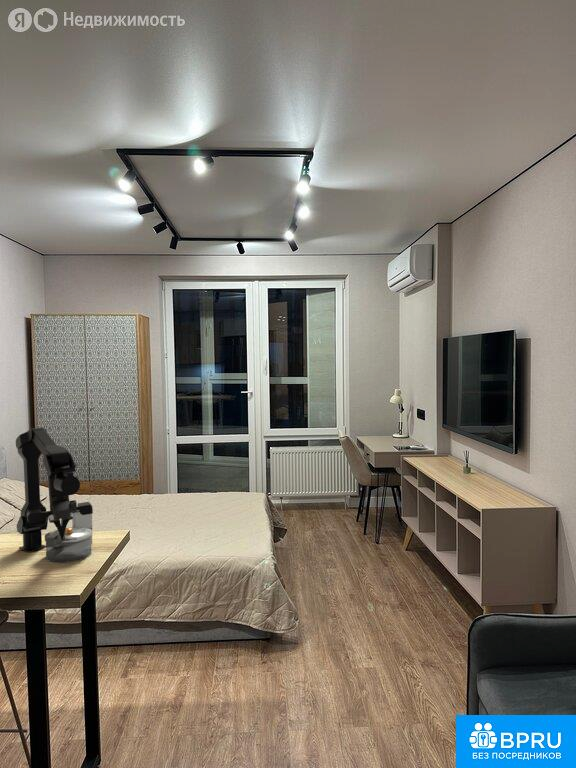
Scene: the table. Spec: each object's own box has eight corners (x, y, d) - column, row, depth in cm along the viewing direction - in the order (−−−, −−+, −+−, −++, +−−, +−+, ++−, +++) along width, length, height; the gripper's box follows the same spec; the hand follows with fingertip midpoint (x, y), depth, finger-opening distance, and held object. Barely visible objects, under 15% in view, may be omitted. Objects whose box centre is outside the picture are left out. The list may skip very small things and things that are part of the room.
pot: (59, 548, 198) (59, 530, 197) (98, 548, 196) (98, 531, 196) (28, 568, 178) (28, 549, 178) (71, 569, 177) (71, 550, 177)
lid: (56, 530, 197) (56, 518, 197) (98, 530, 197) (98, 518, 197) (26, 550, 176) (26, 537, 176) (73, 550, 176) (73, 537, 175)
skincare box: (75, 547, 199) (74, 512, 198) (72, 543, 202) (71, 509, 202) (93, 543, 202) (92, 509, 201) (90, 540, 206) (89, 507, 205)
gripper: (26, 500, 166) (30, 552, 167) (93, 490, 175) (97, 540, 176) (25, 492, 176) (29, 542, 177) (88, 484, 185) (91, 531, 186)
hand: (62, 539), depth 179 cm, fingers closed
